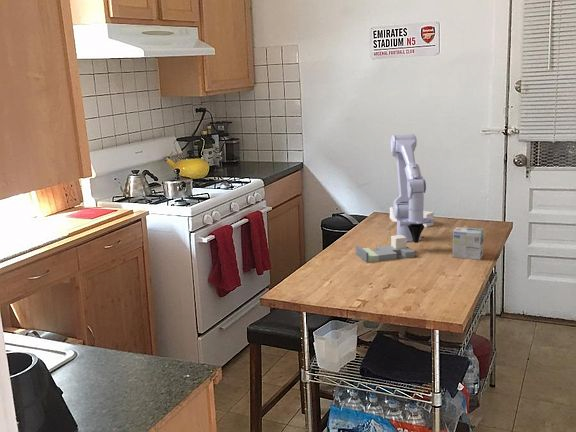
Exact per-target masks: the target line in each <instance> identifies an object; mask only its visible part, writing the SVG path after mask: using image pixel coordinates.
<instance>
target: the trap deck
mask: <svg viewBox="0 0 576 432" xmlns="http://www.w3.org/2000/svg"><path fill="white" fill-rule="evenodd" d="M355 255H356V256H358V258H360V260H361V259H362V261H364V262H365V263H372V262H373V263H374V262H381V261H391V260H400V259H407V258H415V256H416V251H415V250H413V249H412V248H410V247H409V246H407V245H406V248H397V249H396V248H394V247H393V246H391V244H389V245H383V246H381V245H380V246H376V247H375V250H372V249H370V248H369V247H363V248H362V247H361V246H360V245H358V244H357V245H355Z"/></svg>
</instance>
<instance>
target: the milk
mask: <svg viewBox="0 0 576 432" xmlns="http://www.w3.org/2000/svg"><path fill="white" fill-rule="evenodd" d="M434 214H435V213H434V211H427V210H423V218H433V219H434ZM389 219H390V220H391V222H392V223H393V222H394V223H397V219H396V218H395V217H394V215H393V206H389ZM434 220H435V219H434ZM423 225H424V228H429V227H431V226H434V223H432V224H431V223H427V224H423Z"/></svg>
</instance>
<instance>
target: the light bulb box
mask: <svg viewBox="0 0 576 432" xmlns="http://www.w3.org/2000/svg"><path fill="white" fill-rule="evenodd" d="M484 235H485V234H484V228H474V227H462V226H456V227H455V228H454V229H453V230H452V253H451V254H452V256H451V257H452V258H456V259H457V258H458V259H466V260H468V259H469V260H477V261H478V260H481V259H482V258H483V256H484Z"/></svg>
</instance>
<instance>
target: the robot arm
mask: <svg viewBox="0 0 576 432" xmlns="http://www.w3.org/2000/svg"><path fill="white" fill-rule="evenodd" d="M417 141H418V140H417V137H416V135H415V134H413V133H412V134H397V135H395V134H392V135H391V137H390V153H391V156H392V157H394V158H395V161H396V171H397V183H398V184H397V186H398V194H399V195H398V196H397V197H396V198H395V199H394V200H393V203H392V204H393V205H392V207H393V215H394V217H395V218H396V219H397V222H396V235H403V236H405V237H406V238H407V241H406V243H407V242H413V243H414V244H418V243H419V242H420V241H422V237H421V235H422V232H423V231H424V229H425V227H424V225H423V224H427V223H431V224H432V223H433V224H434V223H435V221H434V220H435V219H433V218H423V211H424V206H425V205H424V201H425V200H424V199H425V198H424V197H425V193H426V191H427V182H426V179H425V178H424V176H422V174H421V170H420V166H419V164H418V163H416V159H415V151H416V148H417Z"/></svg>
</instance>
